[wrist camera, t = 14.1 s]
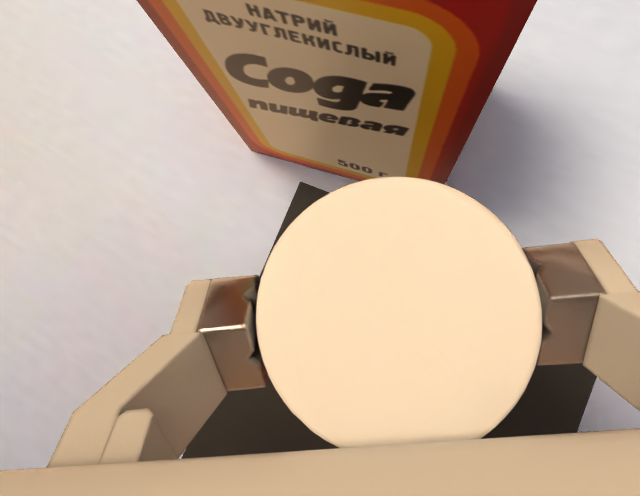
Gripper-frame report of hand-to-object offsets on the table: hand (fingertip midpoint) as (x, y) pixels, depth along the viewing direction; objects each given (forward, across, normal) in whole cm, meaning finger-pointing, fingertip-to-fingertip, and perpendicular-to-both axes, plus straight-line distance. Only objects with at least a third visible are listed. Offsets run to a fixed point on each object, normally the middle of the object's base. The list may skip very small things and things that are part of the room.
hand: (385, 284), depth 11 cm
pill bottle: (+4, 0, +5) cm, 6 cm away
